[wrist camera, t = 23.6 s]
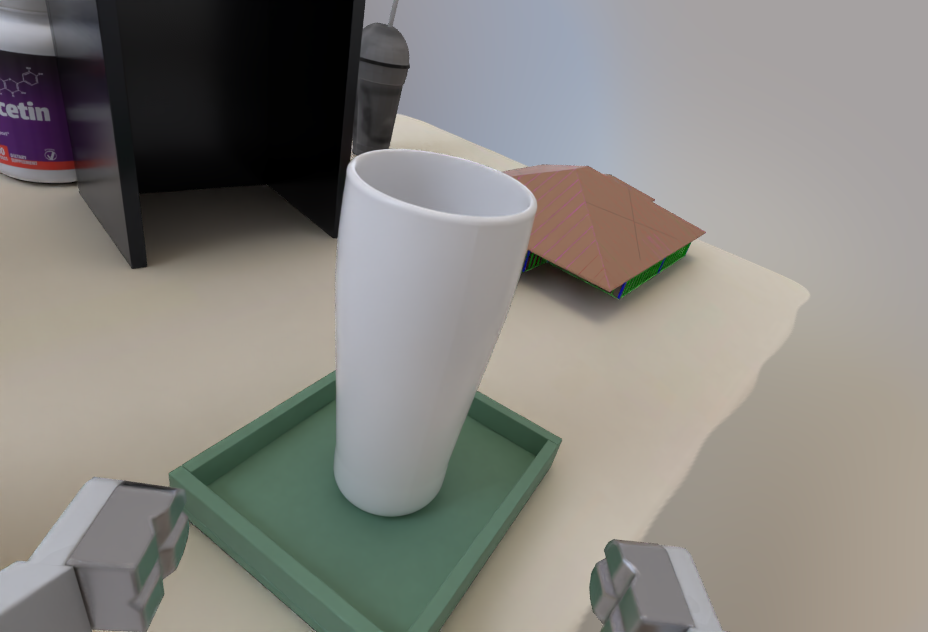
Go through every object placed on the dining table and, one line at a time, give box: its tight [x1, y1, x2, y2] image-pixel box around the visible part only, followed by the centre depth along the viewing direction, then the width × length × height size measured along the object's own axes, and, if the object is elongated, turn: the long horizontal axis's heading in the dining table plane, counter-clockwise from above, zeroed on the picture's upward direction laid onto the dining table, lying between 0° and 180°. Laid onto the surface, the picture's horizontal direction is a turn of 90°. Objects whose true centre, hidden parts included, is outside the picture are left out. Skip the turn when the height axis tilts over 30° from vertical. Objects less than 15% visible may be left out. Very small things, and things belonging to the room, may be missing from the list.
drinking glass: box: [333, 149, 537, 517], centre depth 22 cm, size 7×7×15 cm
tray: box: [169, 370, 562, 632], centre depth 26 cm, size 14×12×2 cm
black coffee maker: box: [45, 0, 365, 269], centre depth 41 cm, size 14×17×23 cm
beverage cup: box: [352, 0, 410, 155], centre depth 66 cm, size 7×7×20 cm
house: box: [503, 165, 706, 299], centre depth 56 cm, size 23×33×8 cm
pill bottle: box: [0, 0, 77, 183], centre depth 44 cm, size 8×8×14 cm
